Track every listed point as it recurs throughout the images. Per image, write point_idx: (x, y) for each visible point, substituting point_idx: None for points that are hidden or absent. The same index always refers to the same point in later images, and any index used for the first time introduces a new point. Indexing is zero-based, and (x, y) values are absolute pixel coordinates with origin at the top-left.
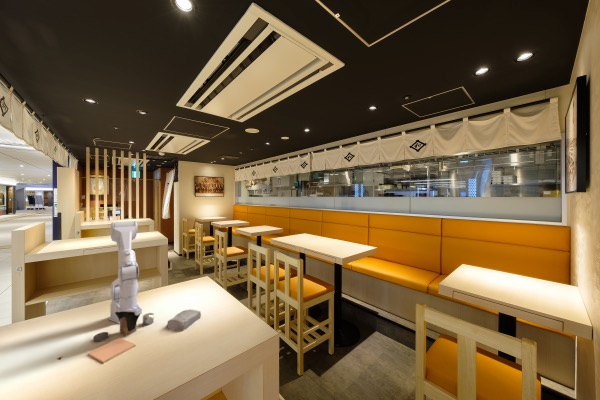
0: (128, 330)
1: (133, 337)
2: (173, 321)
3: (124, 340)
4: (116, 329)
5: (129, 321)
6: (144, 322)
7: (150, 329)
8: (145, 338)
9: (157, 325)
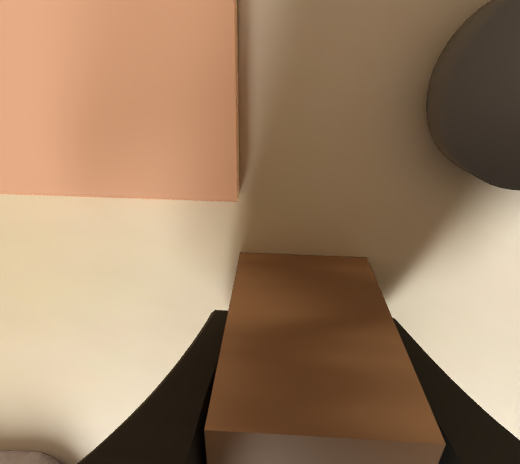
0: None
1: (134, 271)
2: None
3: (105, 185)
4: (510, 295)
5: (110, 445)
6: None
7: None
8: (7, 303)
9: None
